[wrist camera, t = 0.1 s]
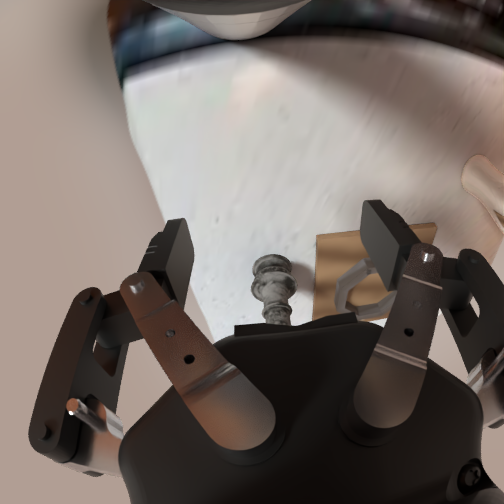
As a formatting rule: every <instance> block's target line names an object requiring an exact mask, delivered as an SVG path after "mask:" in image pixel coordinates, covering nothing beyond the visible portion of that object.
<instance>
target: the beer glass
mask: <svg viewBox="0 0 504 504" xmlns="http://www.w3.org/2000/svg"><path fill="white" fill-rule="evenodd" d="M461 182H462V186H463V188H464V190H465V191H467V192H468V193H469V194H471V195H473V196H474V197H476V198H477V199H479V200H480V201H481V202H482V204H483V205H484V206H485V207H486V209H487V210H488V212H489V213H490V215H491V216H492V218H493V220H494V221H495V223H496V224H497V226H498V227H499V229H500V230H501V232H502V233H503V234H504V174H503V173H502V172H500V171H499V170H498V169H497V168H495V167H494V166H493V164H492V163H491V162H490V161H489V160H488V159H487V158H486V157H485V156H483V155H480V154H478V155H474V156H473V157H471V158H470V159H469V160H468V161H467V163H466V164H465V166H464V168H463V171H462V176H461Z"/></svg>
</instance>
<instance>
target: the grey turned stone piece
mask: <svg viewBox="0 0 504 504" xmlns="http://www.w3.org/2000/svg"><path fill="white" fill-rule="evenodd" d="M290 272H291V263H290V262H289V260H288V259H287V258H285V257H283V256H281V255H276V254H270V255H266V256H263V257H261V258H259V259H258V260H257V261H256V262H255V263H254V265H253V275H254V276H255V279H254V281H253V283H252V286H251V292H252V294H253V296H254V297H255V298H256V299H258V300H259V301H262V302H264V309H263V310H262V316H263V317H264V318H265V319H266V323H270V324H280V325H290V326H291V322H290V315H291V313H292V308H291V306H290V305H289V304H288V299H289V298H290V297H291V296H292V295H293V294H294V293H295V292H296V290H297V282H296V280H295V278H294V277H293V276H292V275H291V274H290Z"/></svg>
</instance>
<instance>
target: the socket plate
mask: <svg viewBox="0 0 504 504" xmlns="http://www.w3.org/2000/svg"><path fill="white" fill-rule="evenodd" d="M408 226H409V228H411V229H412V231H413V232H414V233H415V234H416V236H417V237H418V238H419V239H420V241H421V242H422V243H428V244H431V245H432V243H433V240H434V237H435V233H436V230H437V226H436V225H435V223H427V224H417V225H408ZM396 294H397V290H395V291H389V292H387V290H386V288H385V286H384V284H383V282H382V280H381V278H380V276H379V274H378V272H377V270H376V268H375V266H374V264H373V262H372V260H371V259H370V257H369V255H368V253H367V251H366V249H365V247H364V246H363V244H362V242H361V238H360V230H359V231H349V232H340V233H331V234H321V235H317V236H316V264H315V285H314V301H313V315H312V321H313V320H316V319H319V318H322V317H324V316H328V315H336V314H343V313H349V312H355V314H356V317H357V320H359V321H366V322H368V321H373V320H379V319H384V318H388V316H389V313H390V310H391V308H392V305H393V302H394V300H395V297H396Z"/></svg>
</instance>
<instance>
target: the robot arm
mask: <svg viewBox="0 0 504 504" xmlns="http://www.w3.org/2000/svg"><path fill="white" fill-rule="evenodd" d="M143 1H146V2H148V3H151V4H153V5H155V6H157V7H159V8H161V9H163V10H165V11H167V12H169V13H171V14H174V15H176V16H177V17H179V18H181V19H183V20H185V21H187V22H189V23H190V24H192V25H194V26H196V27H197V28H199V29H201V30H203V31H204V32H206V33H208V34H210V35H212V36H215V37H218V38H221V39H228V40H245V39H250V38H255V37H258V36H260V35H263V34H265V33H267V32H269V31H270V30H272V29H273V28H274V27H276V26H277V25H278V24H280V23H281V22H282V21H284V20H285V19H286V18H288V17H289V16H290V15H292V14H293V13H294V12H296V11H297V10H298V9H300V8H301V7H302V6H304V5H305V4H307V3H308V2H310V1H311V0H143ZM360 238H361V242H362V244H363V246H364V247H365V249H366V251H367V253H368V255H369V257H370V259H371V260H372V262H373V264H374V266H375V268H376V270H377V272H378V274H379V276H380V278H381V280H382V282H383V284H384V286H385V288H386V290H387V292H389V291H395V290H397V294H396V297H395V300H394V302H393V305H392V308H391V310H390V313H389V316H388V318H387V321H386V323H385V326H384V328H383V327H381V326H379V325H377V324H374V323H370V322H366V321H359V320H357V317H356V314H355V312H349V313H343V314H336V315H328V316H324V317H322V318H319V319H316V320H313V321H310V322H308V323H305V324H302V325H298V326H290V325H280V324H270V323H258V324H246V325H234V335H231V336H228V337H225V338H223V339H221V340H219V341H217V342H216V343H214V344H212V343H211V342H210V341H209V340H208V339H207V338H206V336H205V335H204V334H203V333H202V332H201V331H200V329H199V328H198V327H197V326H196V325H195V324H194V322H193V321H192V320H191V319H190V317H189V316H188V315H187V314H186V313H185V312H184V305H185V301H186V296H187V291H188V286H189V281H190V276H191V272H192V267H193V263H194V248H193V244H192V240H191V237H190V233H189V229H188V226H187V222H186V220H185V218H180V219H173V220H168V221H167V223H166V226H165V228H164V230H163V232H158V233H157V234H156V235H155V236H154V237H153V238H152V239H151V242H150V243H149V246H148V248H147V250H146V254H145V255H144V257H143V259H142V262H141V264H140V266H139V269H138V271H137V272H136V273H133V274H132V275H129V276H128V277H127V278H125V279H124V280H123V282H122V284H121V285H120V290H119V291H116V292H113V293H109V294H107V295H103V294H102V293H101V291H100V290H99V289H98V288H95V287H90V288H87V289H85V290H83V291H81V292H80V293H79V294H78V295H77V296H76V297H75V298H74V300H73V302H72V304H71V306H70V309H69V311H68V313H67V315H66V318H65V320H64V322H63V325H62V327H61V329H60V332H59V335H58V337H57V339H56V342H55V345H54V347H53V350H52V353H51V356H50V358H49V361H48V364H47V367H46V370H45V373H44V376H43V379H42V382H41V385H40V389H39V392H38V395H37V399H36V402H35V406H34V410H33V414H32V418H31V422H30V426H29V433H28V435H29V441H30V444H31V445H32V447H33V448H34V450H36V451H37V452H39V453H40V454H42V455H44V456H46V457H48V458H50V459H52V460H53V461H55V462H56V463H59V464H61V465H63V466H65V467H68V468H70V469H72V470H75V471H77V472H82V473H85V474H87V475H90V476H93V477H98V476H101V475H103V474H108V475H112V476H117V477H123V479H124V482H125V484H126V487H127V490H128V493H129V497H130V501H131V504H504V493H503V492H502V491H501V490H500V489H499V488H498V487H497V486H496V485H495V484H494V483H493V481H492V480H491V479H490V478H489V476H488V475H487V473H486V472H485V470H484V468H483V465H482V461H481V437H482V430H483V429H484V428H486V427H490V428H498V427H500V426H501V425H503V424H504V285H503V283H502V281H501V280H500V279H499V277H498V276H497V274H496V273H495V271H494V270H493V269H492V267H491V266H490V265H489V263H488V262H487V260H486V259H485V258H484V257H483V256H482V255H481V254H480V253H479V252H477V251H475V250H472V249H463V250H461V251H460V253H459V256H458V259H455V258H447V257H443V254H442V252H441V251H440V250H439V249H438V248H437V247H435V246H433V245H431V244H428V243H422V242H421V241H420V239H419V238H418V237H417V236H416V234H415V233H414V232H413V231H412V229H411V228H409V226H408V224H407V223H406V222H405V221H404V219H403V218H402V217H401V216H400V215H399V214H398V213H396V212H394V211H393V210H391V209H388V208H387V207H386V206H385V204H384V203H383V202H382V201H381V200H365V201H364V202H363V206H362V216H361V226H360ZM473 296H474V298H475V300H476V301H477V303H478V305H479V308H480V315H479V318H478V317H477V315H476V313H475V311H474V309H473V308H472V306H471V304H470V301H471V299H472V297H473ZM439 308H440V309H441V311H442V313H443V315H444V317H445V319H446V322H447V324H448V326H449V328H450V330H451V333H452V335H453V337H454V340H455V342H456V344H457V347H458V349H459V352H460V354H461V356H462V359H463V362H464V364H465V367H466V369H467V372H468V377H467V384H465V383H464V382H462V381H461V380H460V379H458V378H457V377H455V376H454V375H452V374H451V373H450V372H448V371H447V370H445V369H444V368H442V367H441V366H439V365H438V364H437V363H435V362H434V361H432V360H431V359H429V358H428V355H429V351H430V347H431V343H432V339H433V335H434V330H435V325H436V321H437V316H438V311H439ZM143 338H144V339H145V341H146V343H147V344H148V346H149V348H150V349H151V351H152V353H153V354H154V356H155V358H156V359H157V361H158V362H159V364H160V365H161V367H162V369H163V370H164V372H165V374H166V375H167V376H168V378H169V380H170V381H171V383H172V384H173V385H172V386H171V387H170V388H169V389H168V390H167V391H166V392H165V393H164V394H163V395H162V396H161V397H160V398H159V400H158V401H157V402H156V403H155V404H154V405H153V406H152V407H151V408H150V409H149V410H148V411H147V412H146V413H145V414H144V415H143V416H142V417H141V418H140V419H139V420H138V421H137V422H136V423H135V424H134V425H133V426H132V427H131V428H130V429H129V430H128V431H127V432H126V434H125V436H124V434H123V426H122V422H121V420H120V418H119V417H118V416H117V415H116V408H117V402H118V396H119V390H120V385H121V380H122V374H123V369H124V365H125V360H126V355H127V351H128V346H129V343H130V342H133V341H136V340H140V339H143ZM95 340H96V341H97V342H96V345H95V348H94V352H93V346H94V343H95Z"/></svg>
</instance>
